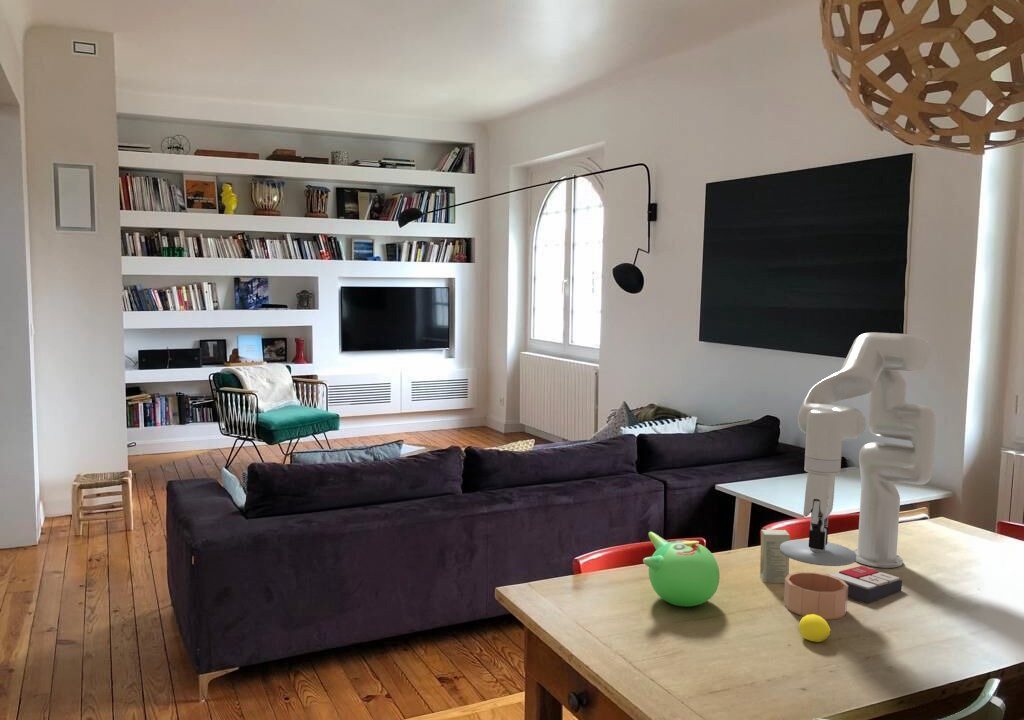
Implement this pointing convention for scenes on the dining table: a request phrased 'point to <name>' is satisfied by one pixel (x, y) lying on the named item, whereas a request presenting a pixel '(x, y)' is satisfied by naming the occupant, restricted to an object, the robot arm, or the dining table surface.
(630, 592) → the dining table surface
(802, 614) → the bowl
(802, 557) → the lid
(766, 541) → the skincare box
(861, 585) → the calculator
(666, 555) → the toy bird
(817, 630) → the lemon
